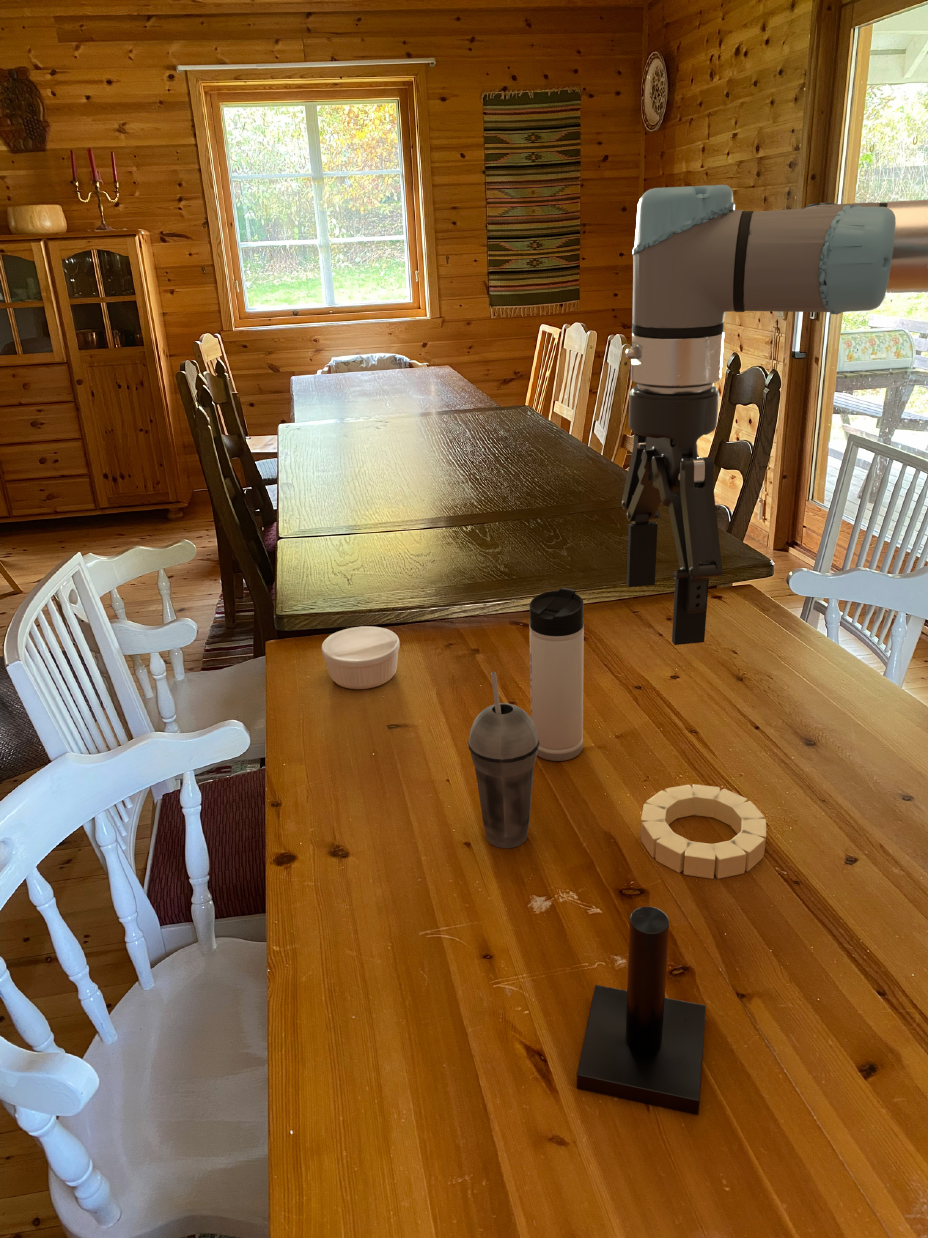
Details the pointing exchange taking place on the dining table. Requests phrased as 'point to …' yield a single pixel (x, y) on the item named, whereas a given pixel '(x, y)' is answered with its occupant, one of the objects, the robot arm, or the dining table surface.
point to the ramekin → (361, 656)
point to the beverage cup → (504, 769)
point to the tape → (697, 855)
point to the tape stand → (644, 1029)
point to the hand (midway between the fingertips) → (662, 611)
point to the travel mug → (557, 673)
